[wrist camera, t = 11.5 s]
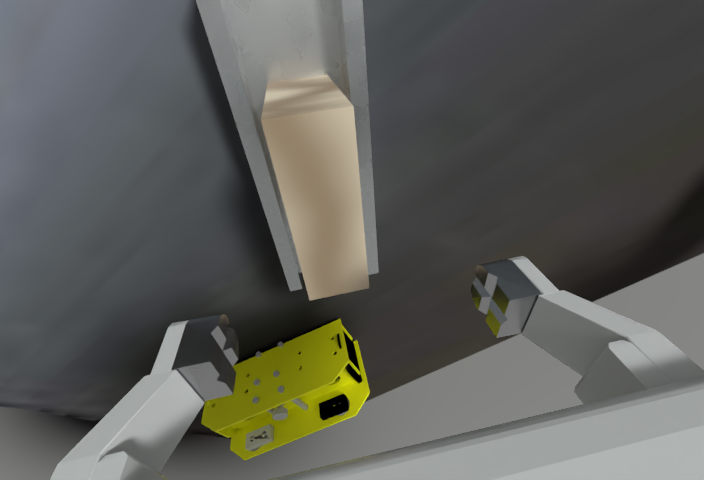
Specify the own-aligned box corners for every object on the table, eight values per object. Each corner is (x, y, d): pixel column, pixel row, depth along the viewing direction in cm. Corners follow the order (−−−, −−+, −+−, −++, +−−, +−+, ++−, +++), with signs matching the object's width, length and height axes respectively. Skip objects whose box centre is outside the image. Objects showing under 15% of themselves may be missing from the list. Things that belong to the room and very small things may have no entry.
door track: (346, -44, 16) (359, -55, 13) (370, 250, 28) (378, 272, 25) (198, -29, 15) (183, -37, 13) (289, 267, 27) (290, 291, 25)
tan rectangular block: (327, 74, 18) (354, 105, 11) (345, 216, 24) (370, 287, 17) (266, 82, 17) (259, 120, 11) (300, 224, 23) (308, 300, 17)
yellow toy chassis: (240, 388, 37) (232, 467, 31) (209, 368, 34) (192, 453, 27) (357, 337, 36) (375, 409, 29) (337, 311, 32) (352, 386, 26)
